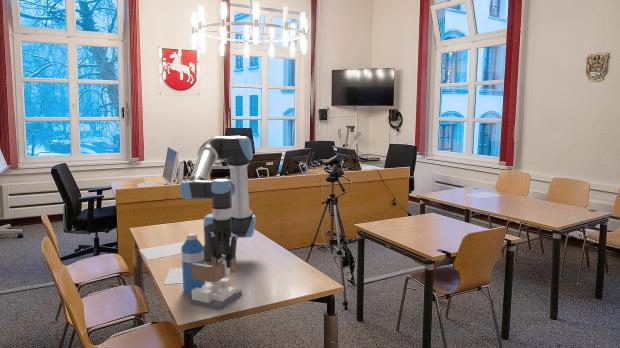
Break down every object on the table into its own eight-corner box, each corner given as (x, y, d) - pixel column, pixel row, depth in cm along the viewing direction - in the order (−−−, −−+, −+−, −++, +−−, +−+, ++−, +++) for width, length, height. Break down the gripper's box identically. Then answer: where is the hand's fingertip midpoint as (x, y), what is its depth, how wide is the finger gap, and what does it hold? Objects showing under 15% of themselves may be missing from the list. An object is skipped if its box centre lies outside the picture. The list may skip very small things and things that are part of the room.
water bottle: (185, 286, 203) (182, 231, 199) (206, 285, 204) (204, 231, 200) (181, 295, 194) (178, 237, 190) (203, 294, 195) (201, 237, 191)
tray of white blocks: (191, 312, 186) (190, 289, 184) (214, 296, 200) (213, 276, 199) (220, 318, 180) (219, 295, 179) (242, 302, 195) (241, 280, 193)
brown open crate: (191, 278, 183) (191, 264, 182) (214, 266, 197) (213, 253, 196) (215, 282, 179) (214, 267, 178) (236, 270, 192) (236, 256, 192)
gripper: (200, 218, 182) (203, 274, 186) (233, 221, 176) (235, 280, 180) (211, 214, 189) (214, 268, 193) (243, 217, 183) (245, 274, 187)
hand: (224, 274), depth 186 cm, fingers closed on brown open crate, 2 cm apart
